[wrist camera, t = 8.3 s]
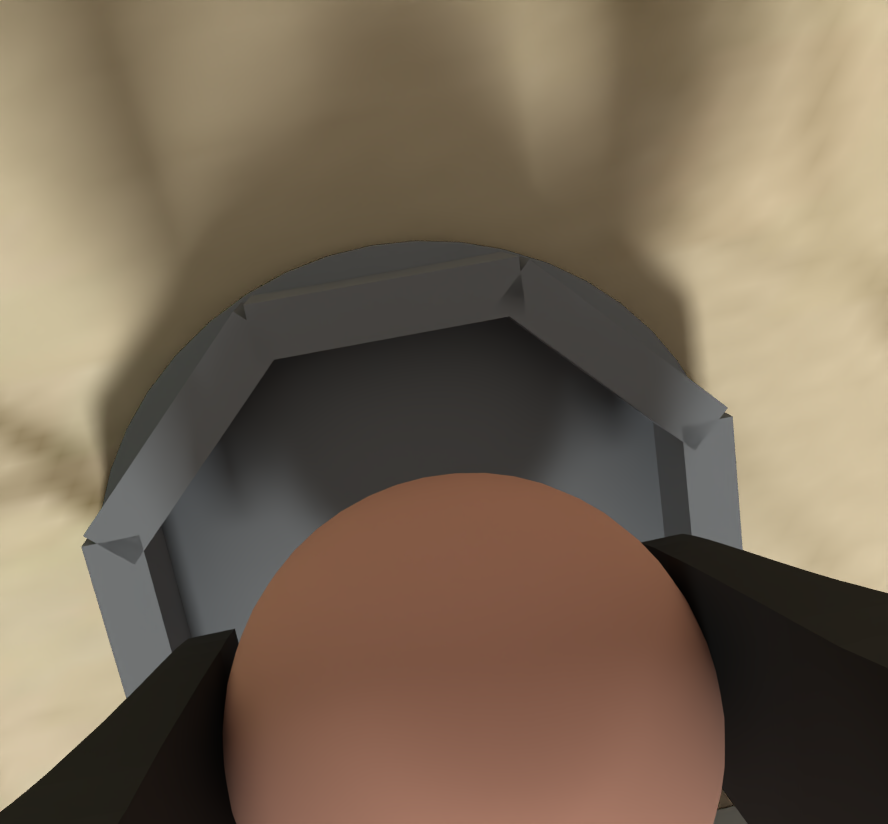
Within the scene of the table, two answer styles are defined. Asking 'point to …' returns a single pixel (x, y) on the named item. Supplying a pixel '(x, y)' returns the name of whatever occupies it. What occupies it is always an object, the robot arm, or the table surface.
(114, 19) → the table surface
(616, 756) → the ball
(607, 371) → the gray octagonal bowl
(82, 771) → the robot arm
